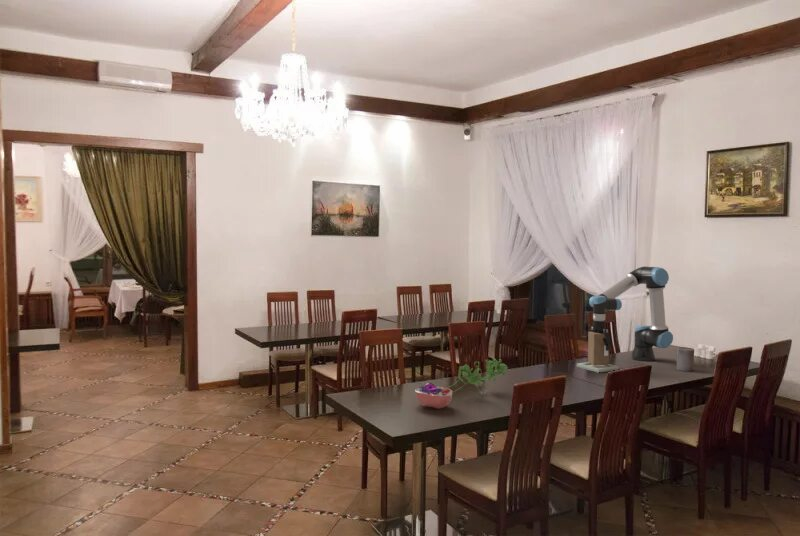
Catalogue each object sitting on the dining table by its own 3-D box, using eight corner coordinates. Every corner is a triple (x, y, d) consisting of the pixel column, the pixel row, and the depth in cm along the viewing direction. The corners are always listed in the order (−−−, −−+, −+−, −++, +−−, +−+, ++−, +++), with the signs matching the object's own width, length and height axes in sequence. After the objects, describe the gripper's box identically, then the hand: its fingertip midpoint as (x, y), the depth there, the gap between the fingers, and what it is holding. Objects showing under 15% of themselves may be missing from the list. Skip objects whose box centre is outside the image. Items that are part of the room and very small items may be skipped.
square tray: (596, 364, 385) (597, 361, 385) (618, 369, 369) (618, 366, 369) (576, 366, 377) (576, 363, 377) (598, 372, 361) (598, 369, 361)
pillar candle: (689, 368, 376) (690, 345, 375) (695, 371, 366) (696, 348, 366) (674, 368, 377) (674, 344, 376) (679, 371, 367) (680, 347, 367)
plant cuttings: (447, 410, 301) (473, 391, 287) (434, 380, 309) (459, 360, 294) (492, 398, 324) (518, 381, 310) (478, 371, 331) (503, 352, 317)
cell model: (433, 415, 270) (433, 391, 269) (407, 405, 286) (407, 382, 286) (461, 409, 280) (461, 386, 279) (434, 399, 296) (434, 377, 296)
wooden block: (609, 365, 368) (609, 333, 367) (593, 365, 368) (594, 333, 367) (602, 362, 378) (603, 331, 377) (587, 362, 378) (588, 331, 377)
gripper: (580, 318, 381) (579, 350, 382) (610, 323, 359) (608, 357, 360) (588, 317, 384) (587, 349, 385) (618, 322, 362) (617, 356, 363)
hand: (597, 353), depth 373 cm, fingers closed on wooden block, 12 cm apart
